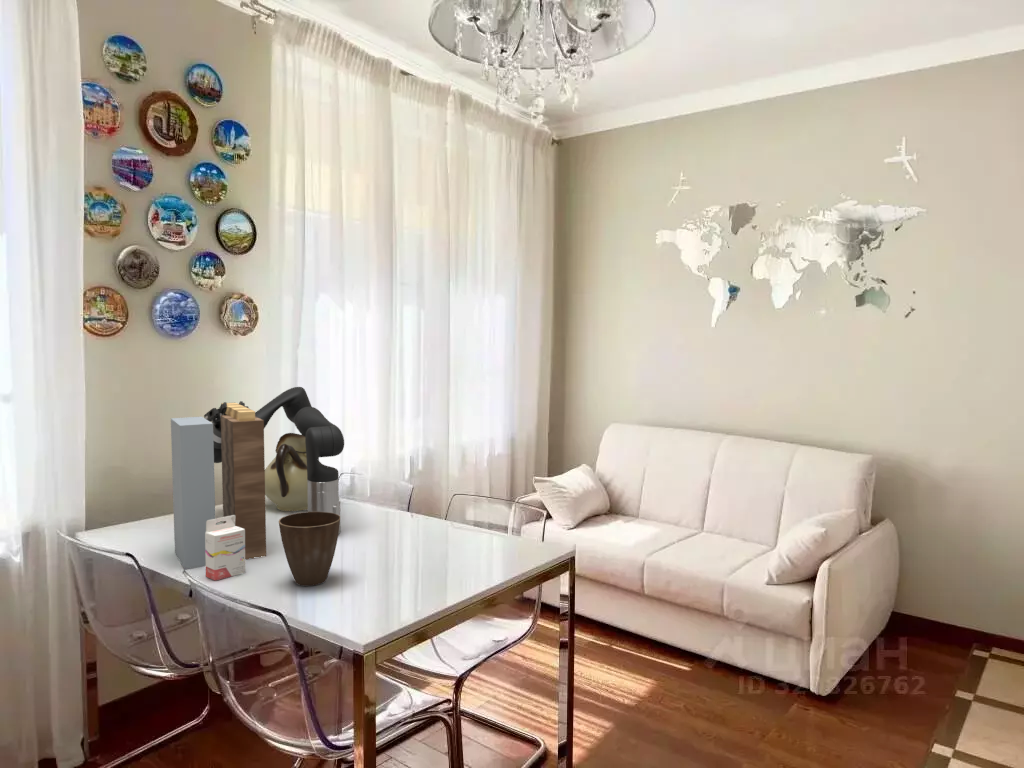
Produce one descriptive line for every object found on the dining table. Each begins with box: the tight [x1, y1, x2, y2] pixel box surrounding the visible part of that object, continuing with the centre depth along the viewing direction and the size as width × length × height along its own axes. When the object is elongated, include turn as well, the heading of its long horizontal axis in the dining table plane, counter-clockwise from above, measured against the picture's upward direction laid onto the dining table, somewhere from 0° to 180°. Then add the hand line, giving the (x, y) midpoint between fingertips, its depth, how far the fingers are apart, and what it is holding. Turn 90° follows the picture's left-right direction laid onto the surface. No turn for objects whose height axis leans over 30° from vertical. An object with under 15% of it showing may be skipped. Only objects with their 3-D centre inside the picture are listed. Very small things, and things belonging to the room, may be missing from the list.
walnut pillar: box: [221, 415, 267, 560], centre depth 206 cm, size 16×8×38 cm, turn 33°
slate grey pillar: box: [170, 416, 216, 570], centre depth 199 cm, size 16×8×38 cm, turn 33°
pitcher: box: [265, 432, 323, 512], centre depth 254 cm, size 22×24×25 cm
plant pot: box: [278, 511, 341, 587], centre depth 184 cm, size 15×15×16 cm
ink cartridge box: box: [205, 515, 246, 581], centre depth 187 cm, size 9×5×15 cm, turn 141°
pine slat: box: [220, 402, 256, 421], centre depth 208 cm, size 24×4×2 cm, turn 33°
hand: (233, 404), depth 212 cm, fingers closed on pine slat, 4 cm apart
